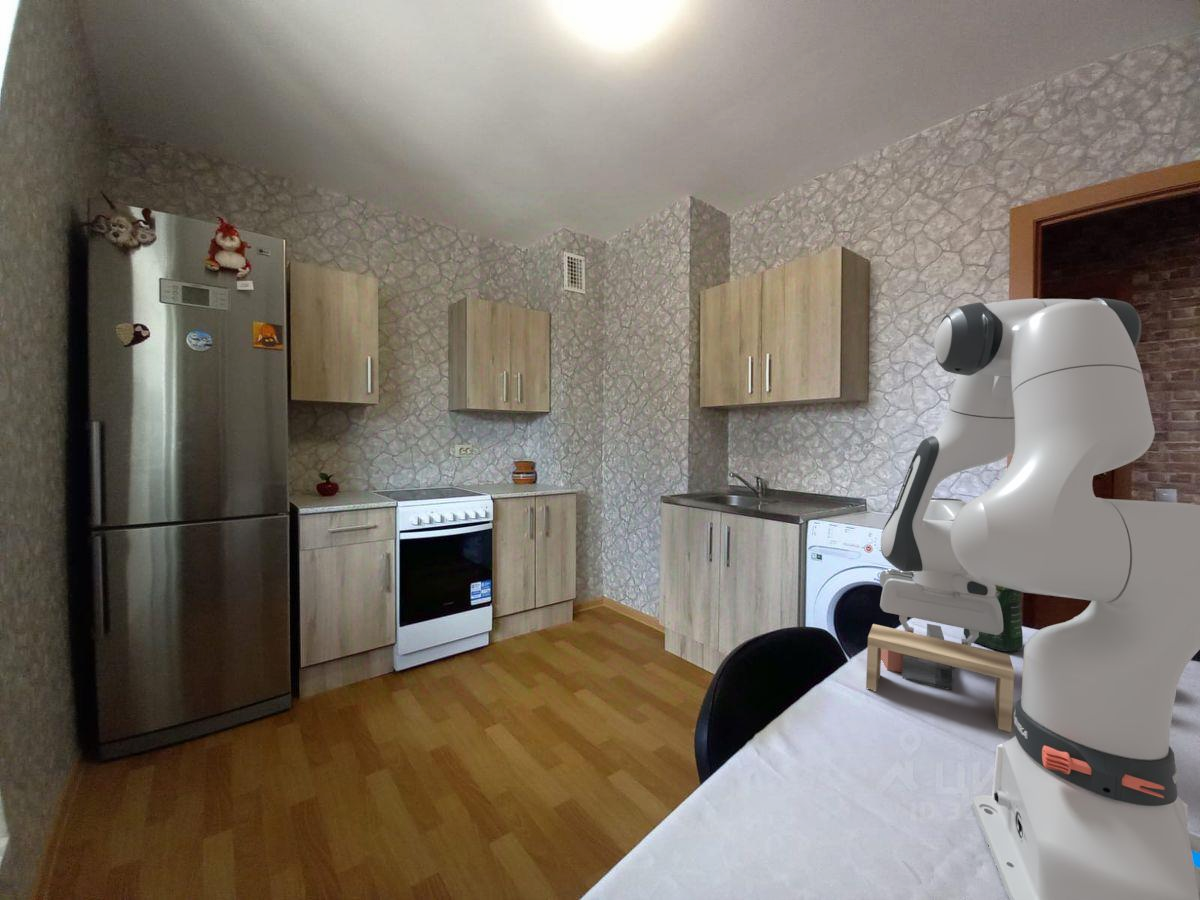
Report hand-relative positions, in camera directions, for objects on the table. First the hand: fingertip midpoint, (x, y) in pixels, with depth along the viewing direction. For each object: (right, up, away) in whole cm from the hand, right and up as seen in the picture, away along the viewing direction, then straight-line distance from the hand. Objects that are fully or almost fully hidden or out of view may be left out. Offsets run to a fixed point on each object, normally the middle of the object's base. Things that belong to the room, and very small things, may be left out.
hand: (936, 643), depth 95 cm
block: (-10, -3, -4) cm, 11 cm away
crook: (-4, -3, -1) cm, 5 cm away
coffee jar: (+17, -3, +7) cm, 18 cm away
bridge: (-12, -3, -15) cm, 19 cm away
